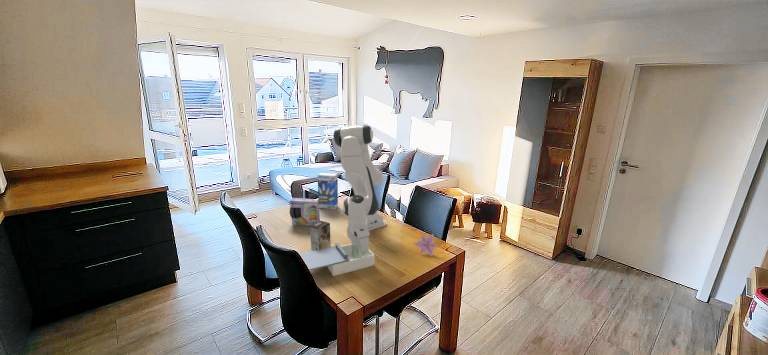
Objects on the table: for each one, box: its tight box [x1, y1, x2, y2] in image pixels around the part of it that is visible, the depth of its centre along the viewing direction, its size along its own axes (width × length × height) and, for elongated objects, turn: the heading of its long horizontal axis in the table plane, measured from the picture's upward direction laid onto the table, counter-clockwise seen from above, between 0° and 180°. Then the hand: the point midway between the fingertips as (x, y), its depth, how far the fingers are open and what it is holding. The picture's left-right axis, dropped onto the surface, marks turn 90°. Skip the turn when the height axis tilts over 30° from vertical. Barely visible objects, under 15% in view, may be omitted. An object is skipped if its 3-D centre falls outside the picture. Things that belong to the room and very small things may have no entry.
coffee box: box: [309, 220, 332, 251], centre depth 171 cm, size 9×6×16 cm
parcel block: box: [351, 241, 362, 259], centre depth 162 cm, size 4×4×8 cm
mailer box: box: [326, 243, 376, 277], centre depth 161 cm, size 22×16×6 cm
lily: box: [413, 233, 439, 257], centre depth 174 cm, size 12×12×10 cm
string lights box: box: [317, 172, 339, 210], centre depth 234 cm, size 13×8×26 cm, turn 81°
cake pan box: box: [289, 197, 321, 227], centre depth 203 cm, size 19×5×18 cm, turn 80°
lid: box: [299, 242, 350, 271], centre depth 154 cm, size 22×16×3 cm
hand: (357, 251), depth 163 cm, fingers closed on parcel block, 4 cm apart
